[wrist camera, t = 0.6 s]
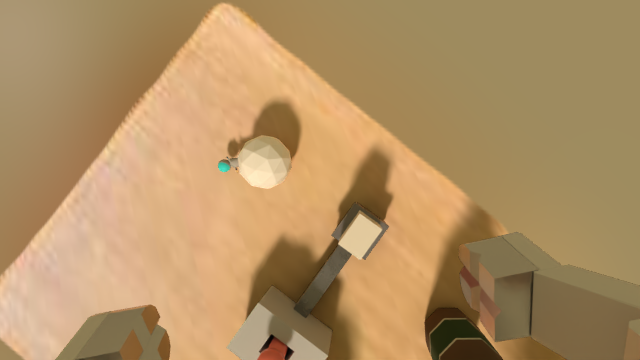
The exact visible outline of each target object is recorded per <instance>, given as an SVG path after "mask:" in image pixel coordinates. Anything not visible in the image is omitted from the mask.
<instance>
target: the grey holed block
mask: <svg viewBox="0 0 640 360" xmlns="http://www.w3.org/2000/svg"><path fill="white" fill-rule="evenodd" d="M295 304H296V303H295V302H294V301H293V300H291V299H290V298H289V297H287V296H286V295H285V294H283V293H282V292H281V291H279V290H278V289H277V288H275V287H274V286H273V285H272V286H271V287H270V289H269V290H268V291H267V292H266V294H265V295H264V296H263V297H262V299H261V300H260V301H259V302H258V304H257V305H256V306H255V308H254V309H253V311H252V312H251V314H250V315H249V316H248V318H247V319H246V321H245V322H244V323H243V325H242V326H241V328H240V329H239V331H238V332H237V333H236V335H235V336H234V338H233V339H232V340H231V342H230V343H229V345H228V346H227V348H228V349H229V350H230V351H231V352H233V353H234V354H235V355H236V356H238V357H239V358H240V359H242V360H257V359H258V357H259V355H260V354H261V352H262V351H263V350H265V349H267V348H268V347H269V345H270V343H271V341H272V339H273V337H274V336H275V337H276V338H278V339H279V340H280V341H281V342H283V343H284V344H285V345H287V346H288V350H287V352H286V355H285V357H284V358H285V360H326V358H327V357H328V355H329V349H330V343H331V337H332V331H333V330H331V329H330V328H329V327H327V326H326V325H325V324H323V323H322V322H321V321H319V320H318V319H317V318H315V317H314V316H313V315H311V314H310V313H309V315H308V316H307V318H305V317H303V316H302V315H301V314H299V313H298V312H297V311H295V310H294V309H293V308H294V306H295Z"/></svg>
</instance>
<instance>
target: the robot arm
mask: <svg viewBox="0 0 640 360" xmlns="http://www.w3.org/2000/svg"><path fill="white" fill-rule="evenodd" d="M459 259H460V261H461V262H462V263H463V265H464V267H463V268H462V270H461V271H460V284H461V287H462V291H463V294H464V296H465V298H466V301H467V302H468V304H469V305H470V307H471V308H472V309H473V310H475V311H477V312H479V313H480V321H481V323H482V324H483V326H484V327H485V329H486V330H487V332H488V333H489V334H490V336H491V337H492V339H493V340H494V342H498V341H505V340H511V339H517V338H523V337H529V336H531V338H532V339H534V340H535V341H537V342H539V343H540V344H542V345H544V346H545V347H547V348H549V349H550V350H552V351H554V352H555V353H557V354H559V355H560V356H562V357H564V358H565V359H567V360H640V286H639V285H636V284H633V283H629V282H625V281H622V280H619V279H615V278H612V277H609V276H605V275H602V274H599V273H595V272H592V271H589V270H585V269H581V268H578V267H575V266H571V265H565V266H562V265H561V264H560V263H558V262H557V261H556V260H554V259H553V258H552V257H551V256H549V255H548V254H547V253H545V252H544V251H543V250H542V249H541V248H539V247H538V246H537V245H535V244H534V243H533V242H532V241H530V240H529V239H528V238H527V237H525V236H524V235H523V234H521V233H518V232H515V233H510V234H506V235H501V236H498V237H494V238H490V239H485V240H480V241H475V242H470V243H466V244H461V245H460V246H459ZM159 318H160V315H159V313H158V311H157V309H156V307H155V306H153V305H144V306H138V307H132V308H127V309H121V310H115V311H109V312H104V313H99V314H95V315H93V316H90V317H89V318H88V319H87V320H86V322H85V323H84V324H83V325H82V327H81V328H80V329H79V330H78V332H77V333H76V334H75V336H74V337H73V338H72V339H71V341H70V342H69V343H68V344H67V346H66V347H65V348H64V349H63V351H62V352H61V353H60V354H59V356H58V357H57V358H56V359H55V360H169V357H170V347H171V346H170V340H169V336H168V334H167V331H166V330H165V329H164V328H162V327H161V326H159V325H158V321H159Z"/></svg>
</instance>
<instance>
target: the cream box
mask: <svg viewBox="0 0 640 360" xmlns="http://www.w3.org/2000/svg"><path fill="white" fill-rule="evenodd" d="M388 227H389V226H388V225H387V224H386V223H385V222H384V221H383V220H382V219H380V218H379V219H378V218H377V217H376V216H374V215H373V214H371V213H370V212H369V211H367V210H366V209H364V208H363V206H362V205H360V204H359V203H356V202H355V203H354V204H353V206H352V207H351V208H350V210H349V211H348V213H347V214H346V215H345V217H344V218H343V220H342V221H341V222H340V224H339V225H338V227H337V228H336V229H335V231H334V232H333V234H332V235H331V236H333V237H334V238H335V239H337V240H338V241H339V242H338V244H339V245H340V246H341V247H343V248H344V249H345V250H347V251H348V252H350V253H351V254H352V255H354V256H355V257H357V258H358V259H359V260H361V259H362V258H363V259H364V260H365V259H366V258H367V256H368V255H369V254H370V252H371V251H372V249H373V248H374V247H375V245H376V244H377V243H378V241H379V240H380V238H381V237H382V236H383V234H384V233H385V231H386V230H387V229H388Z"/></svg>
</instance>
